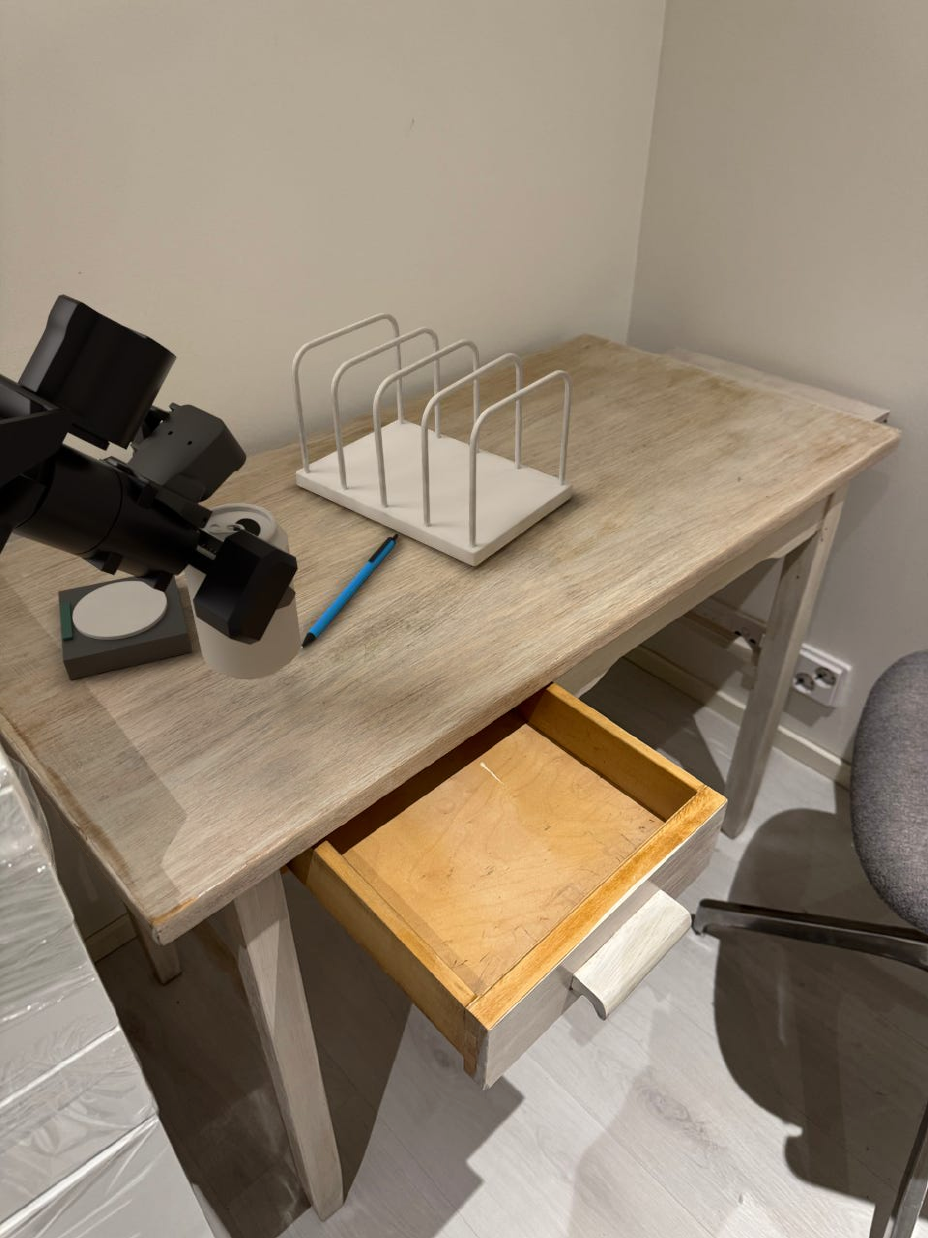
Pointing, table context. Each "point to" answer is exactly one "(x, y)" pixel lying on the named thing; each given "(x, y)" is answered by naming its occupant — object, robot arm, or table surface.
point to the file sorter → (434, 461)
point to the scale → (120, 626)
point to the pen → (349, 590)
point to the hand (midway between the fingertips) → (257, 577)
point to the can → (283, 628)
